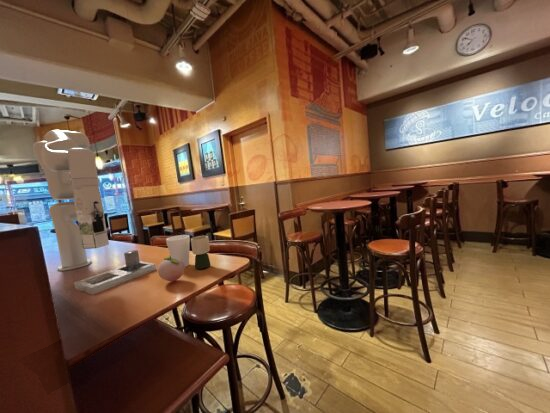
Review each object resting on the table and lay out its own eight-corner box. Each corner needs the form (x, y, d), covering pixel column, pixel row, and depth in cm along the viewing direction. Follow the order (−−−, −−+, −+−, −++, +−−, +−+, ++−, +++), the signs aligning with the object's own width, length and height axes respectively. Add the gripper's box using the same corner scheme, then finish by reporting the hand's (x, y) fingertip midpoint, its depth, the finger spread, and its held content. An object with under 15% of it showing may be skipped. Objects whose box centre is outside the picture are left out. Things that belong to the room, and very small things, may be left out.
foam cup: (170, 265, 102) (166, 237, 101) (191, 261, 106) (188, 233, 105) (170, 272, 94) (166, 241, 93) (193, 267, 98) (190, 237, 96)
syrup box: (109, 244, 87) (103, 206, 86) (96, 248, 81) (89, 208, 80) (96, 245, 88) (90, 207, 86) (81, 249, 82) (75, 209, 80)
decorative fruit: (154, 285, 82) (150, 258, 81) (173, 276, 89) (169, 251, 88) (172, 289, 78) (168, 261, 77) (190, 279, 85) (187, 253, 84)
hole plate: (75, 288, 84) (71, 265, 83) (138, 265, 105) (135, 247, 104) (92, 294, 78) (88, 269, 77) (156, 269, 99) (153, 249, 98)
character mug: (218, 266, 96) (215, 236, 95) (204, 272, 91) (200, 241, 89) (201, 262, 103) (198, 234, 101) (188, 268, 97) (184, 238, 95)
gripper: (62, 185, 83) (70, 233, 85) (84, 182, 75) (93, 235, 77) (86, 185, 90) (93, 229, 91) (110, 181, 81) (117, 230, 83)
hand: (93, 231), depth 84 cm, fingers closed on syrup box, 7 cm apart
